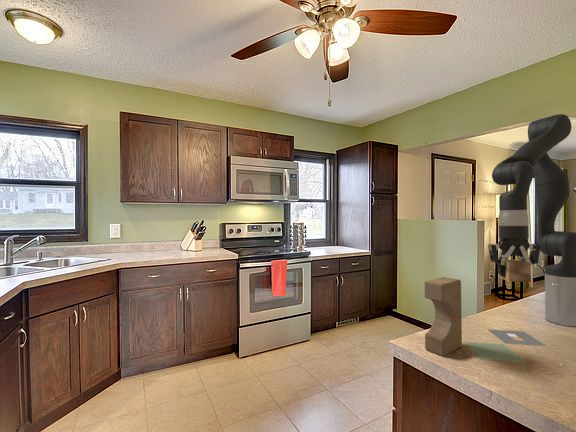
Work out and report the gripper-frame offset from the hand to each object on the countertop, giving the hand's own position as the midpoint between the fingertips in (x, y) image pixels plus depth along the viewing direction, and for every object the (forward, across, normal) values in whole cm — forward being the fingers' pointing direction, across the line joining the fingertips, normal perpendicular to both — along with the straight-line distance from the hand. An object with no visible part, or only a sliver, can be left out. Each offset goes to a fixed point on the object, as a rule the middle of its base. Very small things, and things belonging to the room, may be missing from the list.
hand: (514, 276), depth 91 cm
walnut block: (+1, 0, 0) cm, 1 cm away
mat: (+19, +12, +12) cm, 26 cm away
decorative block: (+20, +25, +12) cm, 34 cm away
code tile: (+19, 0, 0) cm, 19 cm away
